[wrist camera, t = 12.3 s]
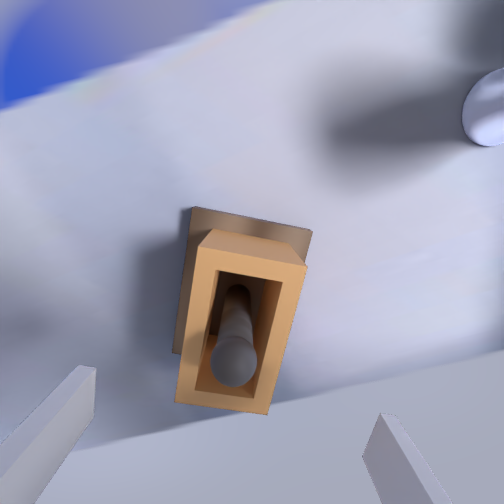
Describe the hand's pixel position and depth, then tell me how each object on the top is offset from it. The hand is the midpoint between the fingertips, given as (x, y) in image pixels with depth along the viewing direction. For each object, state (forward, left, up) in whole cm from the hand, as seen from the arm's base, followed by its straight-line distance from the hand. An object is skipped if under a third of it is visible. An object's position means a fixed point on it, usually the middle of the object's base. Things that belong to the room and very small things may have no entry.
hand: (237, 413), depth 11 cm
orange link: (0, 0, -13) cm, 13 cm away
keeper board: (0, 0, -14) cm, 14 cm away
